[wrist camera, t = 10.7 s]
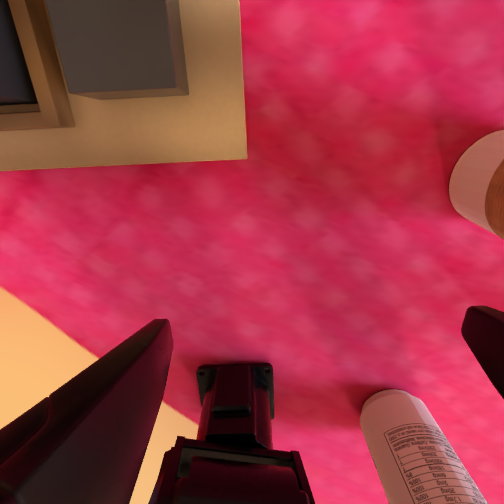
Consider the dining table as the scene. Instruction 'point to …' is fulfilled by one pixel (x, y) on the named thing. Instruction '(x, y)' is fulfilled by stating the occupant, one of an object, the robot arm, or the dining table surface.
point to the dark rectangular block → (13, 64)
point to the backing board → (155, 118)
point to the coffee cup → (481, 183)
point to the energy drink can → (414, 453)
